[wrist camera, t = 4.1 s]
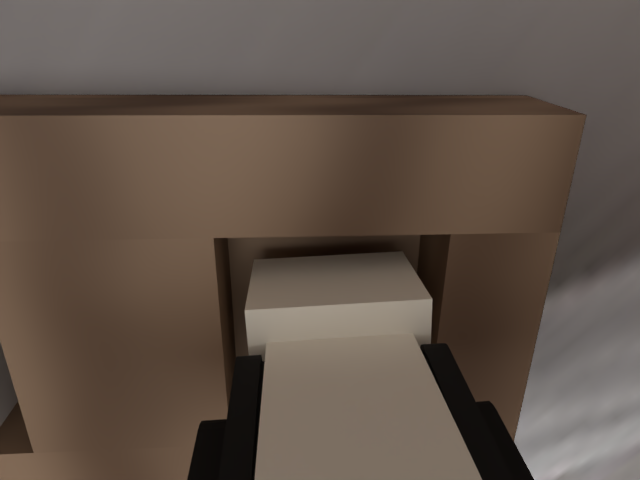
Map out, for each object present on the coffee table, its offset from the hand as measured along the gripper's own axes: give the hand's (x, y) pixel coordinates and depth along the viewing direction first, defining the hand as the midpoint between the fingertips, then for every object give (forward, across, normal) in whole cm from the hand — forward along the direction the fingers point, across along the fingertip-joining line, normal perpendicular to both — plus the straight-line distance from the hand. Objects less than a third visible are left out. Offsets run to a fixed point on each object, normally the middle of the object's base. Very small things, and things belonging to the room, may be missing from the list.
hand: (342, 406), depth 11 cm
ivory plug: (+3, 0, 0) cm, 3 cm away
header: (+5, +6, 0) cm, 8 cm away
